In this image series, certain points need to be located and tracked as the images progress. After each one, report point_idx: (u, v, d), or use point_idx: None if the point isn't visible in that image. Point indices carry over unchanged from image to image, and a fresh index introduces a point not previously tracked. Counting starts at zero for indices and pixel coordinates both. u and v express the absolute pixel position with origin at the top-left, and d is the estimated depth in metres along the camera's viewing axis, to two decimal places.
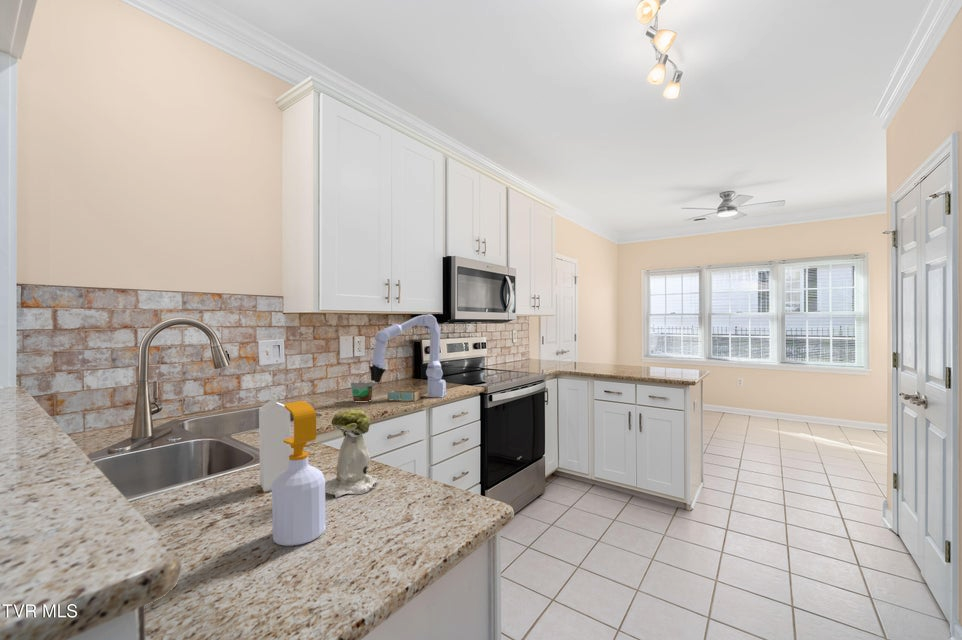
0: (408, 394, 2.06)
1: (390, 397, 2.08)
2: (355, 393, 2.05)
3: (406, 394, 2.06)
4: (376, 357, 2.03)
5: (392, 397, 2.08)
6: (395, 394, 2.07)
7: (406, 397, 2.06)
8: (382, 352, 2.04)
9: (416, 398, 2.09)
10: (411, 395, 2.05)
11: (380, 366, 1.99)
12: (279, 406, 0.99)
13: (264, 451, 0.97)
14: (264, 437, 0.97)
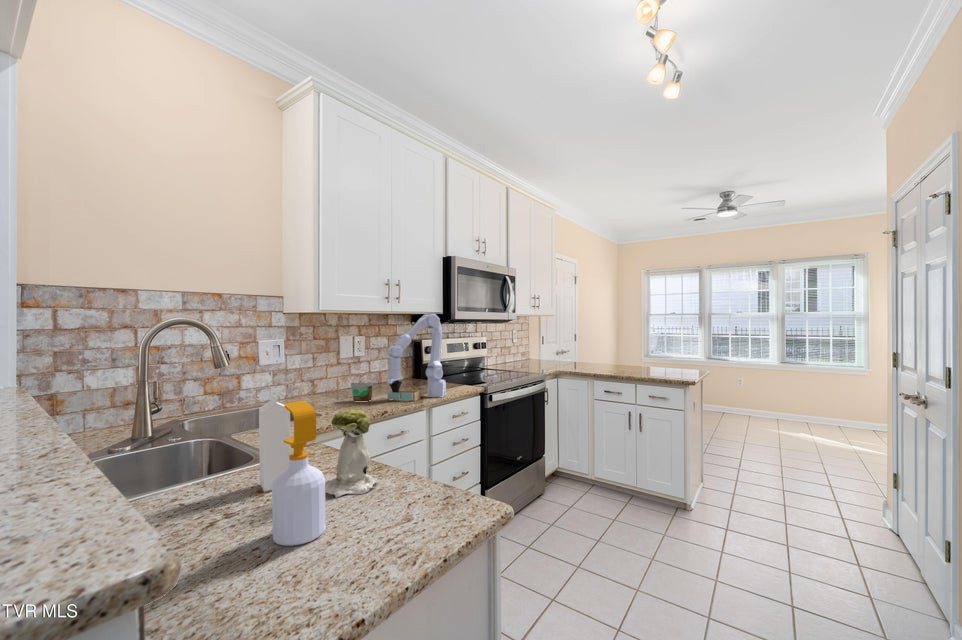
0: (408, 394, 2.06)
1: (390, 397, 2.08)
2: (355, 393, 2.05)
3: (406, 394, 2.06)
4: (390, 372, 2.07)
5: (392, 397, 2.08)
6: (395, 394, 2.07)
7: (406, 397, 2.06)
8: (398, 367, 2.07)
9: (416, 398, 2.09)
10: (411, 395, 2.05)
11: (388, 382, 2.02)
12: (279, 406, 0.99)
13: (264, 451, 0.97)
14: (264, 437, 0.97)
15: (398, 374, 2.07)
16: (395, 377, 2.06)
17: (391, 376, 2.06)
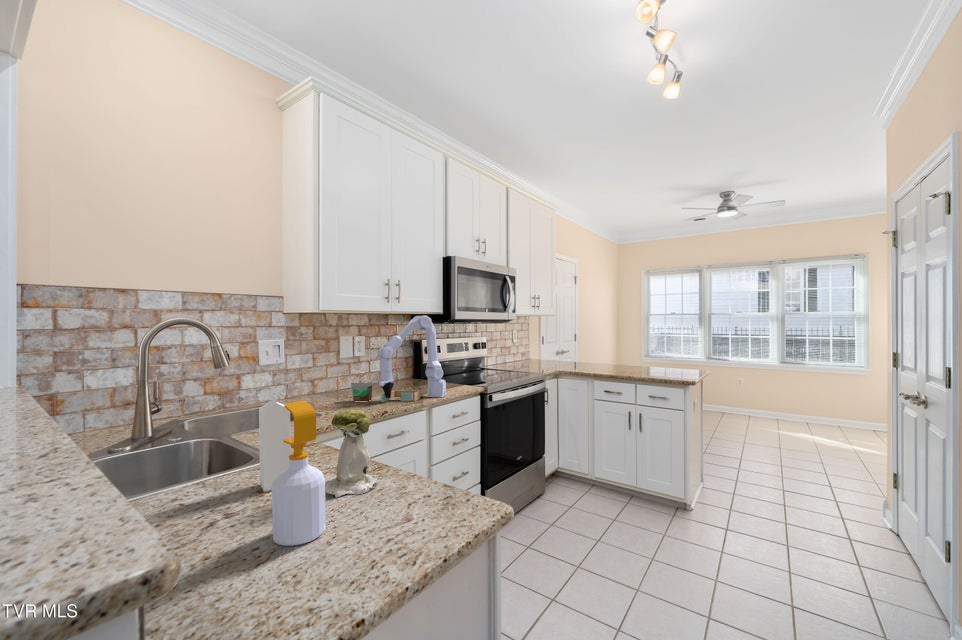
0: (408, 394, 2.06)
1: None
2: (355, 393, 2.05)
3: (406, 394, 2.06)
4: (381, 375, 2.03)
5: None
6: None
7: (406, 397, 2.06)
8: (389, 368, 2.03)
9: (416, 398, 2.09)
10: (411, 395, 2.05)
11: (379, 384, 1.98)
12: (279, 406, 0.99)
13: (264, 451, 0.97)
14: (264, 437, 0.97)
15: (389, 376, 2.03)
16: (386, 379, 2.02)
17: (382, 378, 2.02)
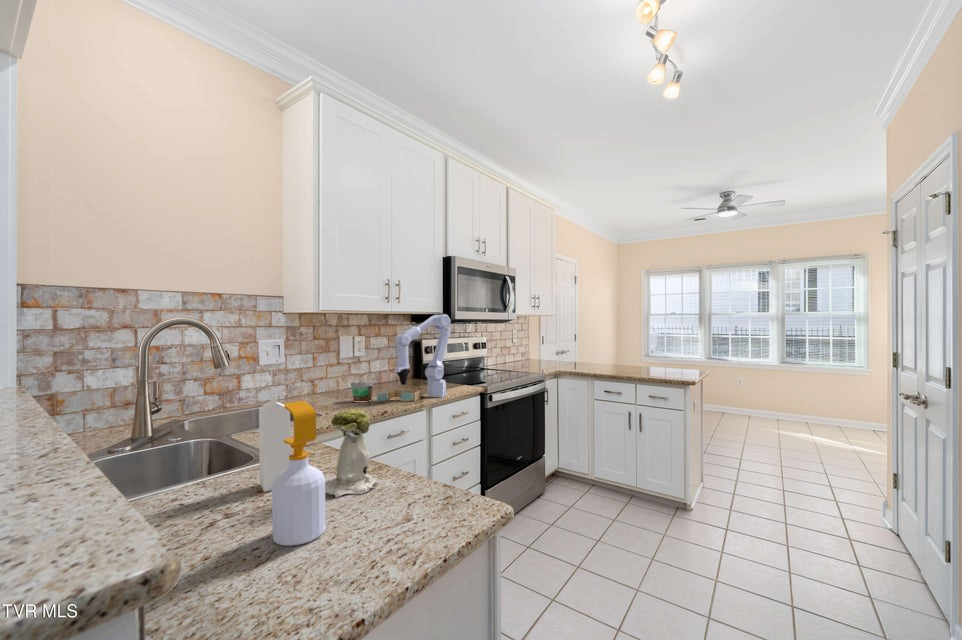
0: (408, 394, 2.06)
1: None
2: (355, 393, 2.05)
3: (406, 394, 2.06)
4: (397, 361, 2.07)
5: None
6: None
7: (406, 397, 2.06)
8: (406, 355, 2.07)
9: (416, 398, 2.09)
10: (411, 395, 2.05)
11: (396, 370, 2.01)
12: (279, 406, 0.99)
13: (264, 451, 0.97)
14: (264, 437, 0.97)
15: (406, 362, 2.06)
16: (403, 365, 2.06)
17: (399, 364, 2.06)
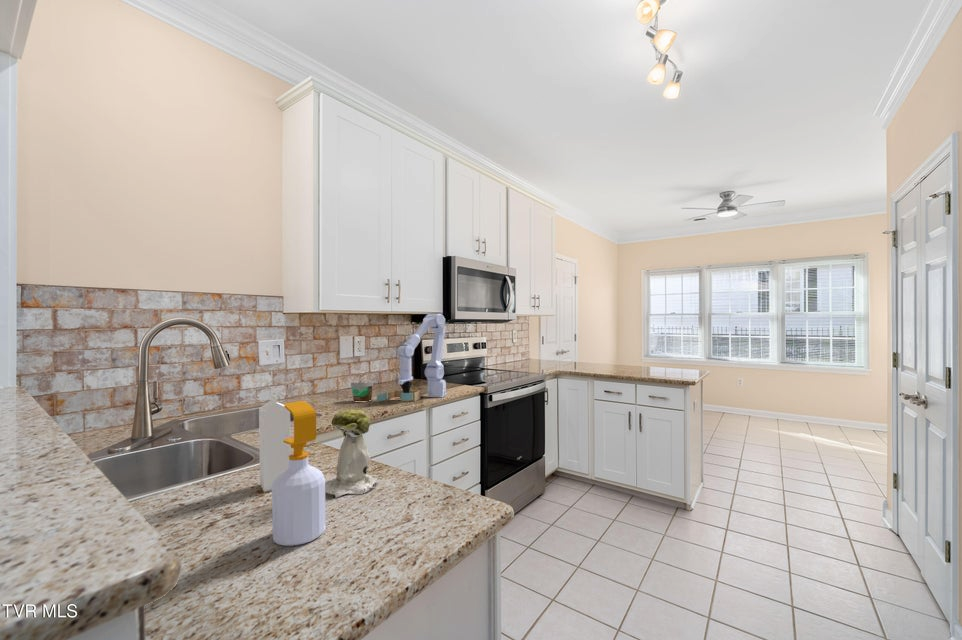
0: (408, 394, 2.05)
1: None
2: (355, 393, 2.05)
3: (406, 394, 2.06)
4: (400, 373, 2.05)
5: None
6: None
7: (406, 397, 2.06)
8: (410, 367, 2.05)
9: (416, 398, 2.09)
10: (411, 395, 2.05)
11: (399, 382, 1.99)
12: (279, 406, 0.99)
13: (264, 451, 0.97)
14: (264, 437, 0.97)
15: (409, 374, 2.04)
16: (406, 378, 2.04)
17: (402, 377, 2.04)
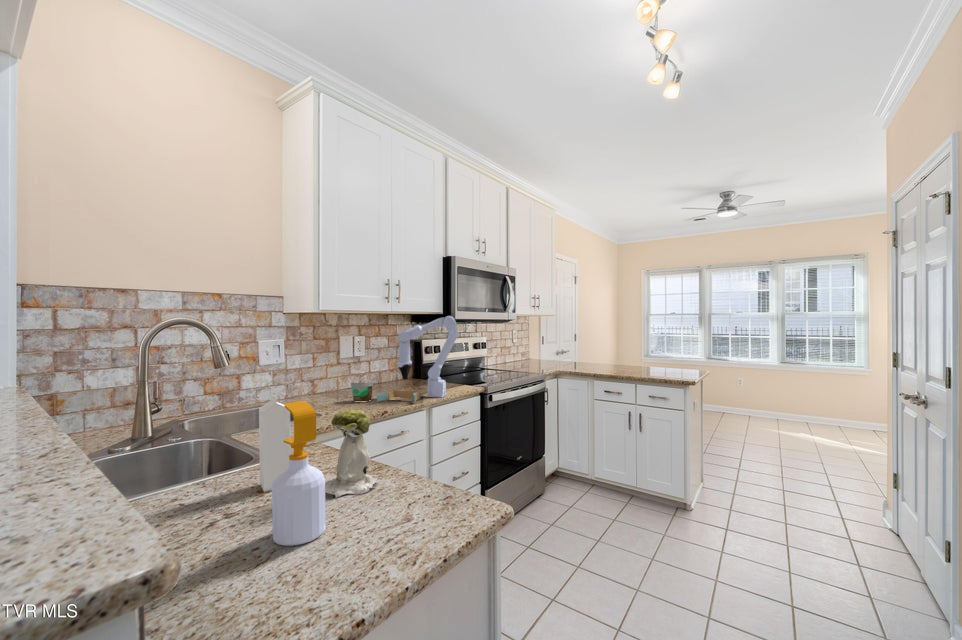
0: (414, 395, 2.03)
1: None
2: (355, 393, 2.05)
3: (414, 395, 2.02)
4: (400, 357, 2.17)
5: None
6: None
7: None
8: (405, 352, 2.17)
9: (416, 398, 2.09)
10: None
11: (398, 365, 2.12)
12: (279, 406, 0.99)
13: (264, 451, 0.97)
14: (264, 437, 0.97)
15: (408, 358, 2.17)
16: (405, 361, 2.16)
17: (401, 360, 2.17)
